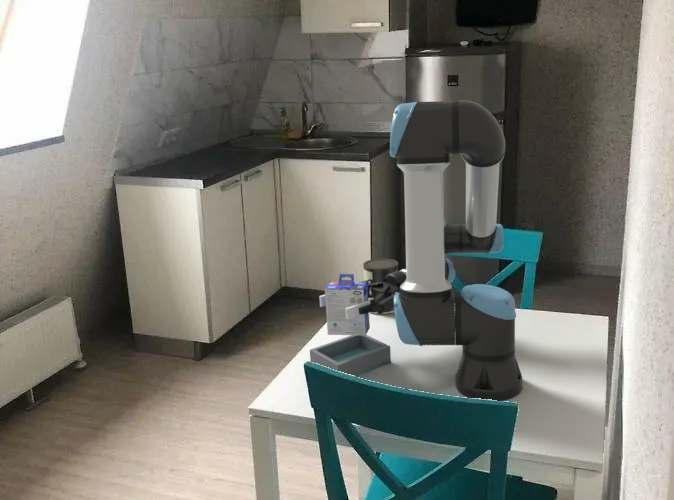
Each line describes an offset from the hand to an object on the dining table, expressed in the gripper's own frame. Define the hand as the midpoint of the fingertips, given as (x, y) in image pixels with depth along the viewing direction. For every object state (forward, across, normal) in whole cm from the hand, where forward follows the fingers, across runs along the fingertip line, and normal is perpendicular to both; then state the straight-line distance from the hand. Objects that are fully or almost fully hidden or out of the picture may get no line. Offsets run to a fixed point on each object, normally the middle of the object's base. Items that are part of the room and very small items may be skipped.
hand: (333, 307), depth 178 cm
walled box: (-4, 0, -16) cm, 17 cm away
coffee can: (-34, +24, -17) cm, 45 cm away
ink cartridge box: (-4, 0, -8) cm, 9 cm away
